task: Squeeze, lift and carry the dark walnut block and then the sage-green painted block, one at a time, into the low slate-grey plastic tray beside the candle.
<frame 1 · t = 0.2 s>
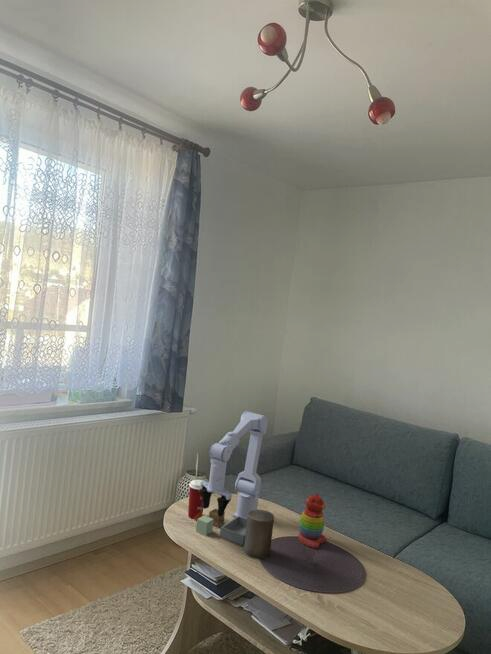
hand: (213, 511, 180), 10 cm above the table, fingers open, 7 cm apart
walnut block: (215, 524, 192), on the table
stacking bear: (310, 541, 188), on the table
paper cup: (194, 516, 196), on the table
tray: (239, 535, 184), on the table
sage block: (203, 531, 184), on the table
pillar candle: (256, 552, 174), on the table
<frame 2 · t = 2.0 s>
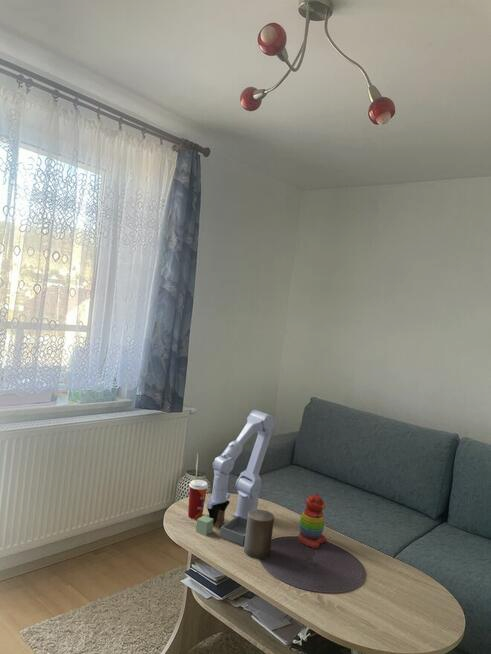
hand: (216, 520, 192), 1 cm above the table, fingers closed on walnut block, 4 cm apart
walnut block: (215, 524, 192), on the table, touching gripper
everything else where it was.
when the fingers open (5 cm above the table, at t = 4.7 s): walnut block drops 2 cm, resting on tray.
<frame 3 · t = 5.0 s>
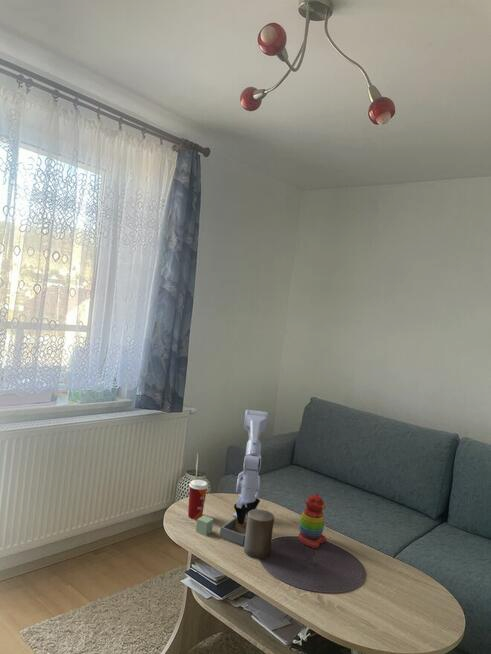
hand: (245, 520, 187), 5 cm above the table, fingers open, 7 cm apart
walnut block: (242, 530, 187), point 1 cm above the table, touching tray
everything else where it was.
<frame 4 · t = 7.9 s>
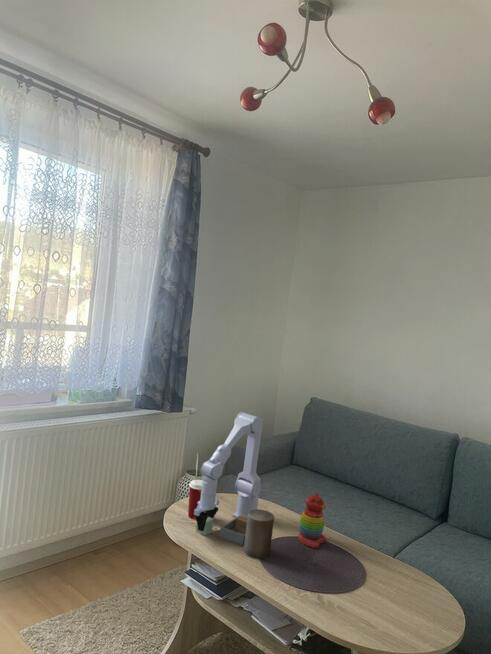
hand: (204, 527, 184), 1 cm above the table, fingers closed on sage block, 4 cm apart
sage block: (203, 531, 184), on the table, touching gripper
everything else where it was.
when the fingers open (5 cm above the table, at t = 10.4 s): sage block drops 3 cm, resting on tray.
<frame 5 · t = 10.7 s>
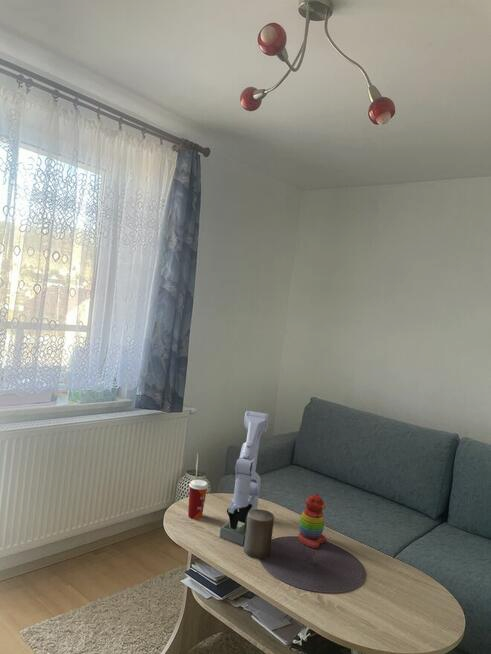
hand: (237, 525, 182), 5 cm above the table, fingers open, 6 cm apart
walnut block: (242, 530, 187), point 1 cm above the table, touching gripper, tray
sage block: (235, 536, 182), point 1 cm above the table, touching tray
everything else where it was.
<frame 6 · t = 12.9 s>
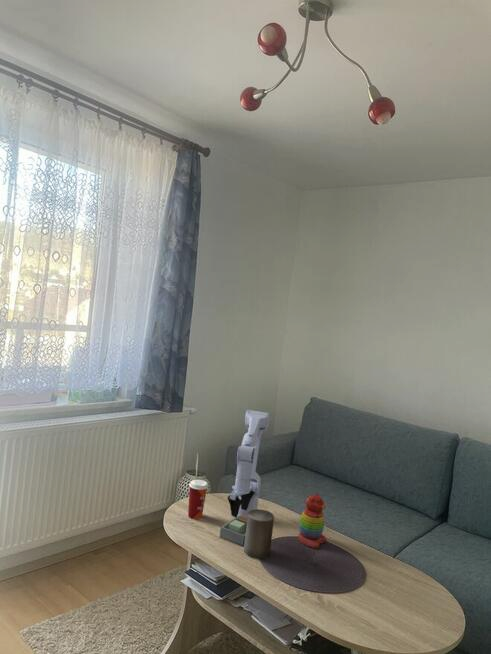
hand: (239, 512, 182), 10 cm above the table, fingers open, 7 cm apart
walnut block: (242, 530, 187), point 1 cm above the table, touching tray
everything else where it was.
at the end: walnut block inside the target area on the tray (3.1 cm from its centre), point 0.6 cm above the tray's base; sage block inside the target area on the tray (2.9 cm from its centre), point 0.6 cm above the tray's base; the gripper is holding nothing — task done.
